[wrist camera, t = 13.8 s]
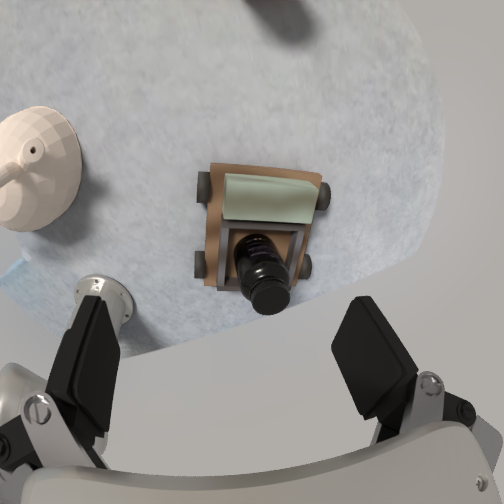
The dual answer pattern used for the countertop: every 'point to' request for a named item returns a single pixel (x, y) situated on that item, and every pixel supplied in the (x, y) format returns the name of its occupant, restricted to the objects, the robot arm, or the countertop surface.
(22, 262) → the countertop surface
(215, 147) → the countertop surface
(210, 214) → the toy truck
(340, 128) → the countertop surface
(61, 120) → the kettle
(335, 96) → the countertop surface
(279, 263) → the supplement bottle
